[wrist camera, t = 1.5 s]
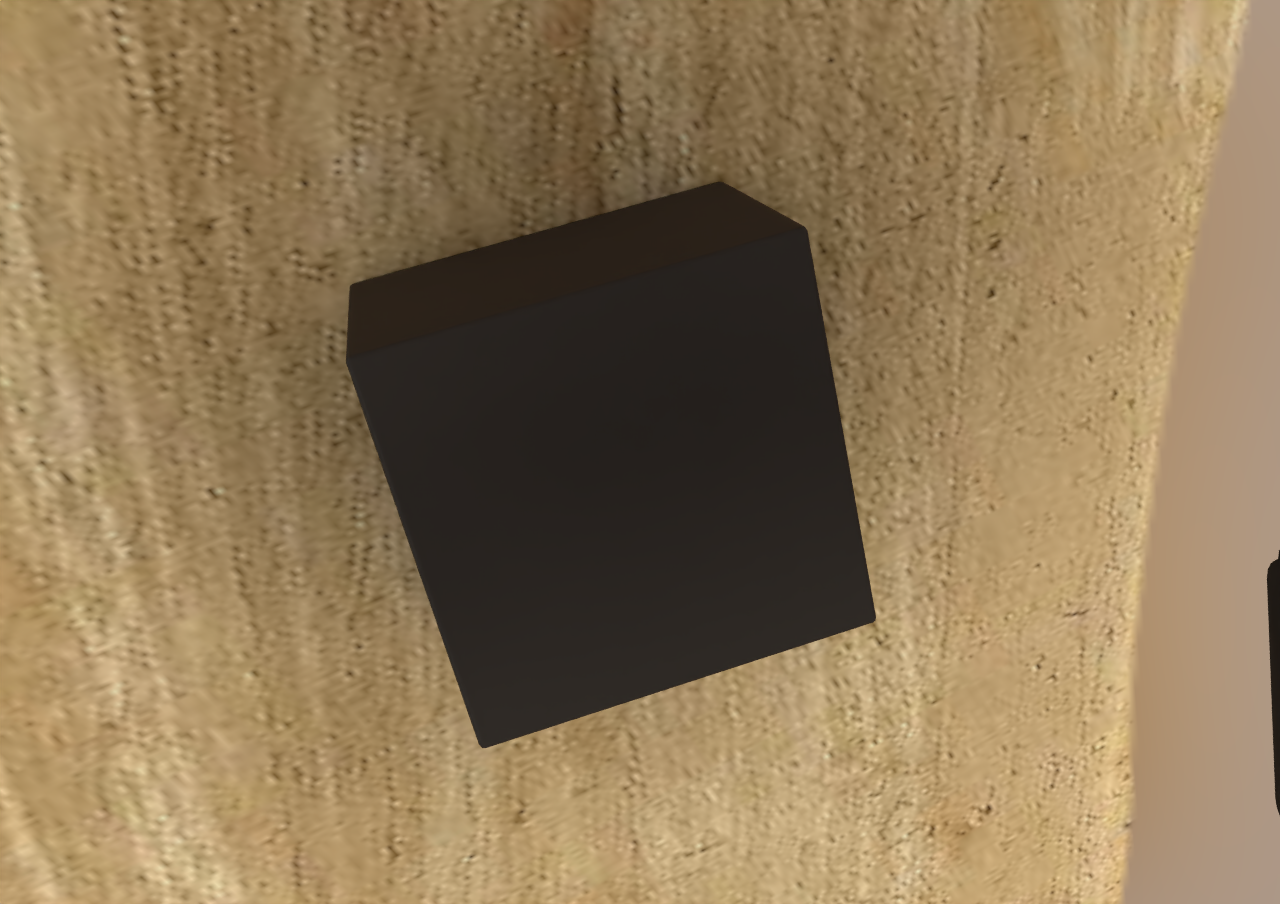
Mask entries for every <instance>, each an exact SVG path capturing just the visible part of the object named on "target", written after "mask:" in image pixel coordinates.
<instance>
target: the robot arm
mask: <svg viewBox="0 0 1280 904" xmlns="http://www.w3.org/2000/svg"><path fill="white" fill-rule="evenodd" d="M1267 590H1268V616H1269V642H1270V666H1271V667H1270V668H1271V695H1272V721H1273V745H1274V772H1275V798H1276V805H1277V809H1278V812H1279V815H1280V550H1279V557H1278V559H1277V560H1275V561H1274V562H1272V563H1271V564H1270V567H1269V568H1268V574H1267Z"/></svg>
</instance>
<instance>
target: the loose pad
mask: <svg viewBox="0 0 1280 904" xmlns="http://www.w3.org/2000/svg"><path fill="white" fill-rule="evenodd" d="M346 364H347V367H348V370H349V373H350V375H351V378H352V381H353V384H354V387H355V390H356V393H357V396H358V398H359V401H360V404H361V407H362V410H363V413H364V416H365V418H366V421H367V424H368V427H369V430H370V433H371V436H372V439H373V441H374V444H375V447H376V450H377V453H378V456H379V459H380V461H381V464H382V467H383V470H384V473H385V476H386V479H387V482H388V484H389V487H390V490H391V493H392V496H393V499H394V502H395V505H396V507H397V510H398V513H399V516H400V519H401V522H402V525H403V527H404V530H405V533H406V536H407V539H408V542H409V545H410V548H411V550H412V553H413V556H414V559H415V562H416V565H417V568H418V571H419V573H420V576H421V579H422V582H423V585H424V588H425V591H426V593H427V596H428V599H429V602H430V605H431V608H432V611H433V614H434V616H435V619H436V622H437V625H438V628H439V631H440V634H441V636H442V639H443V642H444V645H445V648H446V651H447V654H448V657H449V659H450V662H451V665H452V668H453V671H454V674H455V677H456V680H457V682H458V685H459V688H460V691H461V694H462V697H463V700H464V702H465V705H466V708H467V711H468V714H469V717H470V720H471V723H472V725H473V728H474V731H475V734H476V737H477V740H478V743H479V745H480V746H481V747H482V748H487V747H490V746H493V745H497V744H500V743H503V742H506V741H509V740H512V739H515V738H518V737H521V736H524V735H527V734H530V733H534V732H537V731H540V730H543V729H546V728H549V727H552V726H555V725H558V724H561V723H564V722H567V721H570V720H574V719H577V718H580V717H583V716H586V715H589V714H592V713H595V712H598V711H601V710H604V709H607V708H611V707H614V706H617V705H620V704H623V703H626V702H629V701H632V700H635V699H638V698H641V697H644V696H648V695H651V694H654V693H657V692H660V691H663V690H666V689H669V688H672V687H675V686H678V685H681V684H684V683H688V682H691V681H694V680H697V679H700V678H703V677H706V676H709V675H712V674H715V673H718V672H721V671H725V670H728V669H731V668H734V667H737V666H740V665H743V664H746V663H749V662H752V661H755V660H758V659H761V658H765V657H768V656H771V655H774V654H777V653H780V652H783V651H786V650H789V649H792V648H795V647H798V646H802V645H805V644H808V643H811V642H814V641H817V640H820V639H823V638H826V637H829V636H832V635H835V634H839V633H842V632H845V631H848V630H851V629H854V628H857V627H860V626H863V625H866V624H869V623H872V622H874V621H875V619H876V615H875V609H874V603H873V598H872V592H871V586H870V581H869V575H868V569H867V564H866V558H865V553H864V547H863V541H862V536H861V530H860V524H859V519H858V513H857V507H856V502H855V496H854V491H853V485H852V479H851V474H850V468H849V462H848V457H847V451H846V445H845V440H844V434H843V429H842V423H841V417H840V412H839V406H838V400H837V395H836V389H835V383H834V378H833V372H832V367H831V361H830V355H829V350H828V344H827V338H826V333H825V327H824V321H823V316H822V310H821V305H820V299H819V293H818V288H817V282H816V276H815V271H814V265H813V259H812V254H811V248H810V243H809V237H808V231H807V229H806V228H805V227H804V226H802V225H801V224H799V223H797V222H795V221H793V220H791V219H790V218H788V217H786V216H784V215H782V214H780V213H779V212H777V211H775V210H773V209H771V208H769V207H768V206H766V205H764V204H762V203H760V202H758V201H757V200H755V199H753V198H751V197H749V196H747V195H746V194H744V193H742V192H740V191H738V190H736V189H735V188H733V187H731V186H729V185H727V184H725V183H724V182H717V183H713V184H709V185H706V186H702V187H699V188H695V189H692V190H688V191H684V192H681V193H677V194H674V195H670V196H666V197H663V198H659V199H656V200H652V201H649V202H645V203H641V204H638V205H634V206H631V207H627V208H623V209H620V210H616V211H613V212H609V213H606V214H602V215H598V216H595V217H591V218H588V219H584V220H580V221H577V222H573V223H570V224H566V225H563V226H559V227H555V228H552V229H548V230H545V231H541V232H538V233H534V234H530V235H527V236H523V237H520V238H516V239H512V240H509V241H505V242H502V243H498V244H495V245H491V246H487V247H484V248H480V249H477V250H473V251H469V252H466V253H462V254H459V255H455V256H452V257H448V258H444V259H441V260H437V261H434V262H430V263H426V264H423V265H419V266H416V267H412V268H409V269H405V270H401V271H398V272H394V273H391V274H387V275H383V276H380V277H376V278H373V279H369V280H366V281H362V282H358V283H355V284H352V285H351V286H350V291H349V311H348V332H347V352H346Z"/></svg>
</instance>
